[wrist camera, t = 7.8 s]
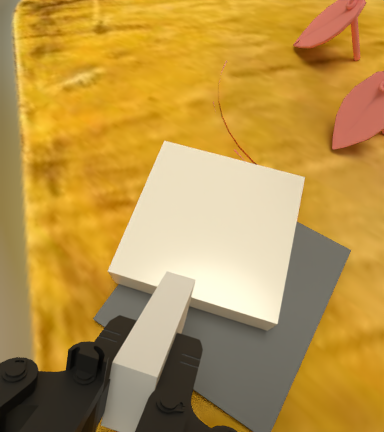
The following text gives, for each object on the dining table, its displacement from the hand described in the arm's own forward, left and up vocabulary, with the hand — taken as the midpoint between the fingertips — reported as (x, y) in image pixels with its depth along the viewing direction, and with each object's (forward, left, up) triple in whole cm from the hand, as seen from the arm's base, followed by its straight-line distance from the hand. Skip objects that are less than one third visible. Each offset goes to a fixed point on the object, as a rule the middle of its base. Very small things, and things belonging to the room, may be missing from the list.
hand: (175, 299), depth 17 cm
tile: (0, -1, -3) cm, 4 cm away
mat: (-2, -4, -5) cm, 7 cm away
